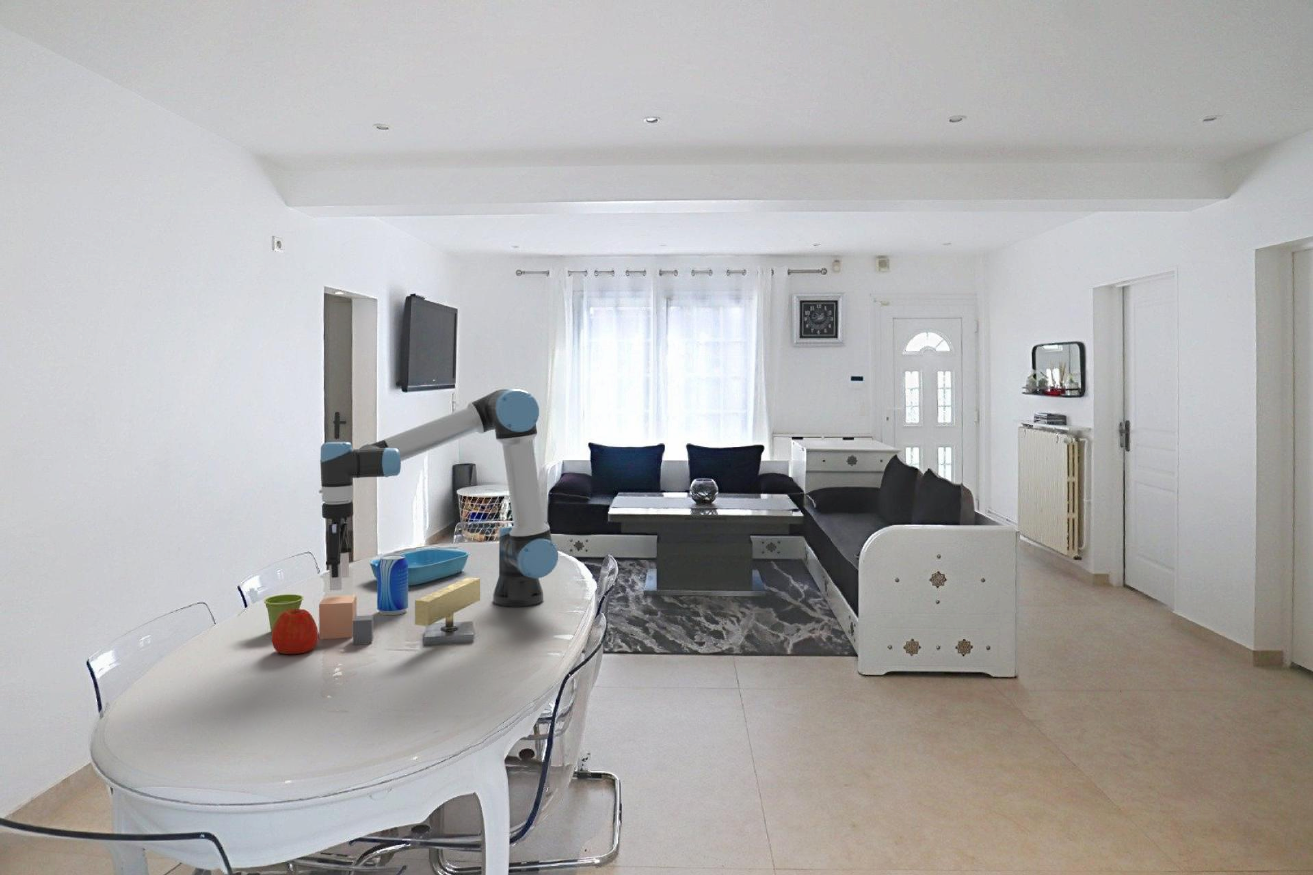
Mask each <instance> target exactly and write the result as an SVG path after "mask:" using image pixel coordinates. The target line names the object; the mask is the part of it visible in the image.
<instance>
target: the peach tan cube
mask: <svg viewBox="0 0 1313 875" xmlns="http://www.w3.org/2000/svg"><path fill="white" fill-rule="evenodd" d="M357 603H358V601H357V594H351V595H349V594H348V595H347V594H346V595H328V596H326V595H325V596H323V597H322V599H321V601H320V602H319V603H318V627H319V628H318V639H319V640H329V639H349V638H353V620H354V617H355V616H358V614H357V613H358V612H357V609H358V607H357Z"/></svg>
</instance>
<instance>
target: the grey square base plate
mask: <svg viewBox="0 0 1313 875" xmlns="http://www.w3.org/2000/svg"><path fill="white" fill-rule="evenodd" d="M474 635H475V634H474V621H473V620H472V621H471V620H469V621H456V622H455V621H453V627H451V628H447V627H445V622H435V623H433V624H431V625H429V626H425V629H424V635H423V636H424V637H423V638H424V639H423V640H424V641H423V645H424V646H428V645H446V644H447V645H448V644H463V643H464V644H465V643H474V639H475V638H474V637H475V636H474Z"/></svg>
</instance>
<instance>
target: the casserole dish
mask: <svg viewBox="0 0 1313 875" xmlns="http://www.w3.org/2000/svg"><path fill="white" fill-rule="evenodd" d="M396 555H404V556H405V560H406V561H407V563H408V586H416V585H417V586H418V585H423V584H426V583H430V582H432V581H436V580H441V579H443V578H447V577H450V576H453V575H456V574H459V573H460V572H462V571H463V570H464V568H465V566H466V564H467V561H468V557H469V555H470V553H469V552H468V551H464V550H461V549H455V548H423V549H417V550H412V551H407V552H402V553H399V554H396ZM380 560H381V557H379V558H376V559H373V560H371V561H370V562H369V566H370V568H371V570H372V573H373V576H374V577H375V579H376V580H377V565H378V563H379V561H380Z"/></svg>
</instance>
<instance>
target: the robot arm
mask: <svg viewBox="0 0 1313 875" xmlns="http://www.w3.org/2000/svg"><path fill="white" fill-rule="evenodd" d="M539 417H540V407H539V404H538V402H537V400H536V398H535V397H534V396H533V395H532V394H530V393H529V391H526V390H524V389H520V388H510V389H506V388H503V389H498V390H495V391H492V392H490V393H489V394H486V395H485V396H483V397H480V398H479V399H476V400H474V401H471V402H469V403H468V404H467V406H466V407H465V408H463V409H460V410H458V411H455V412H453V413H450V414H447V415H445V416H442V417H439V418H437V419H434V420H431V421H428V422H426V423H423V424H421V425H419V426H416V427H413V428H410V429H408V430H405V431H402V432H400V433H396V434H395V435H392V436H389V437H386V438H384V439H382V440H380V441H377V442H374V443H370V444H365V445H364V444H363V445H362V446H361V447H359V448H358V449H356V448H353V446H352V443H351V442H349V441H330V442H324V443H322V444H321V446H320V461H319V462H320V463H319V464H320V481H321V482H320V485H321V489H319V490H318V493H319V494H321V501H322V502H323V503H322V504H321V516H322V518H323V519H326V520H331V524H329V525H328V547H327V548H328V552H327V553H328V554H327V560H326V561H325V565H326V566H329V567H328V568H329V569H328V572H329V591H342V589H343V582H342V581H343V580H342V579H343V578H344V579H345V578H350V567H349V566H350V562H349V561H350V560H349V558H350V557H349V553H352V548H351V547H350V540H349V533H348V518H351V517H353V516H354V502H352V500H354V485H353V482H354V481H353V479H359V478H361V479H363V478H383V477H385V478H388V477H395V476H398V475H399V474H401V468H402V462H403V461H406V460H409V459H411V458H413V457H416V456H419V455H421V454H423V453H426V452H428V451H431V450H434V449H436V448H439V447H442V446H444V445H447V444H450V443H452V442H453V441H456V440H460V439H462V438H464V437H467V436H469V435H472V434H474V433H475V434H476V433H478V434H484V433H486V432H489V431H493V430H494V432H495V439H496V441H498V442H499V443H500V444H501V445H502V450H503V458H504V464H505V474H506V479H507V486H508V493H509V501H510V508H511V515H512V522H513V525H511V526H503V527H501V528H500V529H499V535H498V545H499V546H498V570H499V571H498V579H497V581H496V583H495V587H494V590H493V593H492V603H494V604H495V605H498V606H503V607H529V606H534V605H538V604H540V603H542V602H543V601H544V591H543V587H542V584H541V581H540V579H542V578H544V577H547V576H548V575H549V574H551V573H552V572H553V571H554V570H555V568H556V566H557V564H558V562H559V551H558V548H557V546H556V544H555V543H554V542H553V541H552V540H553V539H552V533H551V527H550V526H549V525H548V523H545V522H544V513H543V506H542V500H541V498H542V497H541V492H540V485H539V478H538V471H537V461H536V453H535V447H534V439H536V437H537V435H538V430H537V421H538V420H539Z"/></svg>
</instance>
